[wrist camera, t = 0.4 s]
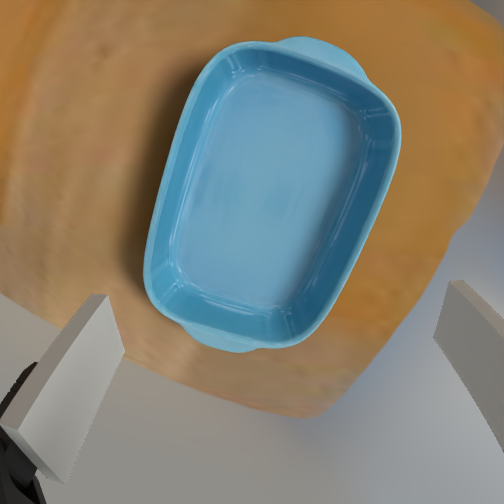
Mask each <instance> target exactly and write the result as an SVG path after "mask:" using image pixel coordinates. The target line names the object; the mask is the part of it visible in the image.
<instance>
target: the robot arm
mask: <svg viewBox="0 0 504 504" xmlns="http://www.w3.org/2000/svg"><path fill="white" fill-rule="evenodd" d="M433 338H434V339H435V341H436V342H437V344H438V345H439V347H440V348H441V350H442V351H443V353H444V354H445V355H446V357H447V358H448V360H449V361H450V363H451V364H452V366H453V368H454V369H455V371H456V372H457V373H458V375H459V377H460V378H461V380H462V381H463V383H464V385H465V386H466V387H467V389H468V391H469V393H470V394H471V396H472V398H473V399H474V401H475V402H476V404H477V406H478V407H479V409H480V411H481V413H482V414H483V416H484V418H485V419H486V421H487V423H488V425H489V426H490V428H491V430H492V432H493V433H494V435H495V437H496V439H497V441H498V443H499V444H500V446H501V448H502V450H503V452H504V319H503V318H502V317H501V316H500V315H499V314H498V313H497V312H496V311H495V310H494V309H492V307H491V306H490V305H489V304H488V303H487V302H486V301H484V300H483V299H482V298H481V297H480V296H479V295H478V294H477V293H476V292H475V291H474V290H473V289H472V288H471V287H470V286H469V285H468V284H467V283H466V282H464V281H463V280H459V281H449V283H448V287H447V291H446V295H445V299H444V303H443V306H442V310H441V313H440V317H439V320H438V324H437V327H436V330H435V334H434V336H433ZM124 353H125V350H124V347H123V344H122V341H121V337H120V334H119V331H118V328H117V325H116V321H115V318H114V314H113V311H112V307H111V304H110V300H109V297H108V295H106V294H91V295H90V296H89V298H88V299H87V300H86V301H85V302H84V304H83V305H82V306H81V307H80V309H79V310H78V311H77V312H76V314H75V315H74V316H73V317H72V319H71V320H70V321H69V322H68V324H67V325H66V326H65V327H64V329H63V330H62V331H61V333H60V334H59V335H58V337H57V338H56V339H55V341H54V342H53V343H52V345H51V346H50V347H49V349H48V350H47V351H46V353H45V354H44V355H43V357H42V358H41V360H40V361H39V362H34V363H33V364H31V365H30V366H29V367H28V368H26V369H25V370H24V371H23V372H22V373H21V375H20V376H19V378H18V379H17V380H16V383H14V385H13V386H12V388H11V389H10V392H8V393H7V395H6V397H5V398H4V399H3V401H2V402H1V404H0V504H46V501H45V498H44V495H43V492H42V489H41V487H40V483H39V481H38V479H37V477H36V476H35V472H36V470H37V469H38V470H39V471H40V472H41V473H42V474H43V475H44V476H45V477H46V478H48V479H51V480H53V481H56V482H59V483H62V484H65V485H67V482H68V479H69V477H70V474H71V472H72V469H73V467H74V464H75V462H76V459H77V457H78V454H79V452H80V449H81V447H82V445H83V442H84V440H85V437H86V435H87V433H88V431H89V428H90V426H91V423H92V421H93V419H94V417H95V414H96V412H97V410H98V408H99V406H100V403H101V401H102V399H103V397H104V395H105V392H106V390H107V388H108V386H109V384H110V382H111V379H112V377H113V375H114V373H115V371H116V369H117V367H118V365H119V363H120V361H121V359H122V357H123V355H124Z"/></svg>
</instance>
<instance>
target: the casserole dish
mask: <svg viewBox="0 0 504 504" xmlns="http://www.w3.org/2000/svg"><path fill="white" fill-rule="evenodd" d="M400 146H401V124H400V120H399V116H398V114H397V111H396V109H395V107H394V106H393V104H392V102H391V101H390V100H389V99H388V97H387V96H386V95H385V94H384V93H383V92H382V91H381V90H379V89H378V88H377V87H376V86H375V85H374V84H372V83H371V82H370V80H369V79H368V77H367V76H366V74H365V72H364V71H363V69H362V68H361V66H360V65H359V64H358V62H357V61H356V60H355V59H354V58H353V57H352V56H350V55H349V54H348V53H347V52H345V51H343V50H342V49H340V48H338V47H336V46H334V45H332V44H329V43H327V42H324V41H321V40H318V39H315V38H311V37H304V36H295V37H289V38H285V39H283V40H280V41H277V42H263V41H247V42H240V43H236V44H233V45H230V46H228V47H226V48H224V49H223V50H221V51H220V52H218V53H217V54H216V55H215V56H214V57H213V58H212V59H211V60H210V61H209V62H208V63H207V64H206V66H205V67H204V68H203V70H202V71H201V73H200V74H199V76H198V77H197V79H196V81H195V83H194V85H193V87H192V89H191V91H190V93H189V96H188V98H187V101H186V103H185V106H184V108H183V111H182V114H181V116H180V119H179V122H178V125H177V128H176V131H175V134H174V138H173V141H172V144H171V148H170V151H169V155H168V158H167V161H166V165H165V168H164V172H163V176H162V179H161V183H160V187H159V191H158V194H157V198H156V202H155V206H154V210H153V214H152V218H151V223H150V227H149V232H148V236H147V242H146V247H145V254H144V263H143V280H144V286H145V290H146V293H147V295H148V297H149V299H150V301H151V303H152V304H153V305H154V306H155V308H156V309H157V310H158V311H159V312H161V313H162V314H163V315H165V316H166V317H168V318H169V319H171V320H173V321H175V322H176V323H178V324H180V325H181V326H182V327H183V328H184V329H185V330H186V331H187V332H188V334H189V335H190V336H191V337H192V338H194V339H195V340H197V341H198V342H200V343H202V344H205V345H207V346H210V347H214V348H217V349H221V350H225V351H229V352H237V353H242V352H248V351H252V350H255V349H258V348H284V347H289V346H292V345H295V344H297V343H299V342H301V341H303V340H304V339H306V338H307V337H308V336H310V335H311V334H312V333H313V332H314V331H315V330H316V329H317V328H318V326H319V325H320V324H321V323H322V321H323V320H324V319H325V317H326V316H327V315H328V313H329V311H330V310H331V308H332V306H333V305H334V303H335V302H336V300H337V298H338V296H339V294H340V292H341V290H342V289H343V287H344V285H345V283H346V281H347V279H348V277H349V275H350V273H351V271H352V269H353V267H354V265H355V263H356V261H357V259H358V257H359V255H360V252H361V250H362V248H363V246H364V244H365V242H366V239H367V237H368V235H369V233H370V230H371V228H372V226H373V224H374V222H375V219H376V217H377V215H378V212H379V210H380V207H381V205H382V203H383V201H384V198H385V196H386V193H387V191H388V188H389V185H390V183H391V180H392V177H393V174H394V171H395V168H396V165H397V161H398V156H399V152H400Z"/></svg>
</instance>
